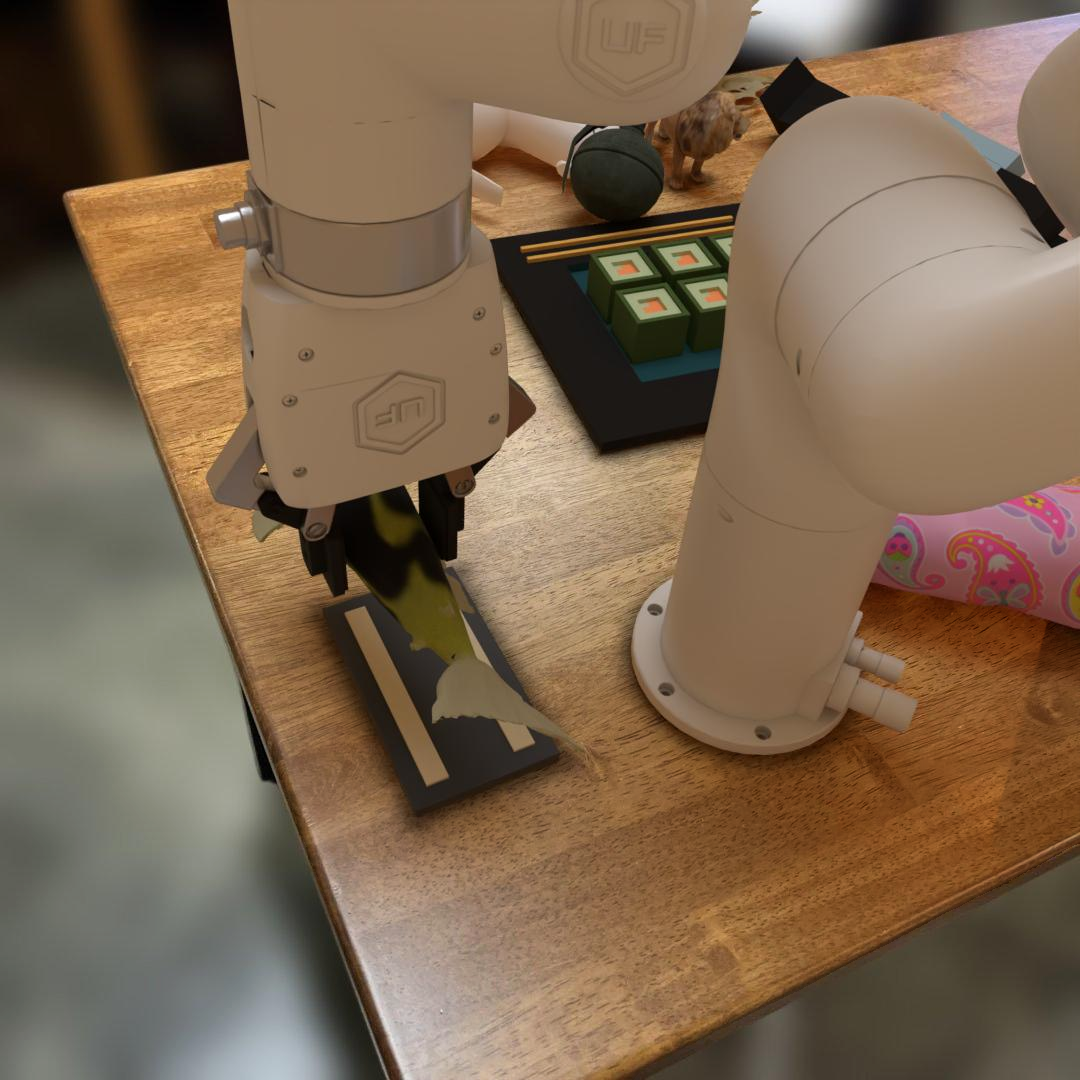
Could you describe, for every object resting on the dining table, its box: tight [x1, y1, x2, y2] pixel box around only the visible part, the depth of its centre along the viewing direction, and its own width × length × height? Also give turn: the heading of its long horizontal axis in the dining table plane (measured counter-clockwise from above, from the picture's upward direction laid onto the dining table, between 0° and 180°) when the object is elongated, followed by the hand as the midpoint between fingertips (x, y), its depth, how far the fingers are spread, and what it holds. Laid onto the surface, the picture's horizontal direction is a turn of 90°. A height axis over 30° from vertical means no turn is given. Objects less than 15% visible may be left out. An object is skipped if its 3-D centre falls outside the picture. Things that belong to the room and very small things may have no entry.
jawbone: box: [707, 0, 777, 113], centre depth 110 cm, size 16×10×10 cm
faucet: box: [472, 103, 619, 208], centre depth 95 cm, size 9×20×15 cm
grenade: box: [561, 123, 666, 222], centre depth 90 cm, size 8×8×10 cm
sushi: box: [489, 202, 741, 454], centre depth 83 cm, size 25×25×4 cm
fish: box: [251, 485, 588, 754], centre depth 52 cm, size 11×24×10 cm
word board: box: [322, 566, 561, 819], centre depth 60 cm, size 14×8×1 cm, turn 26°
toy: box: [758, 56, 1069, 249], centre depth 94 cm, size 10×8×30 cm
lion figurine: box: [644, 91, 752, 190], centre depth 97 cm, size 15×5×9 cm, turn 27°
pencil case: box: [870, 484, 1080, 630], centre depth 65 cm, size 21×9×9 cm
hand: (385, 554), depth 53 cm, fingers closed on fish, 4 cm apart
